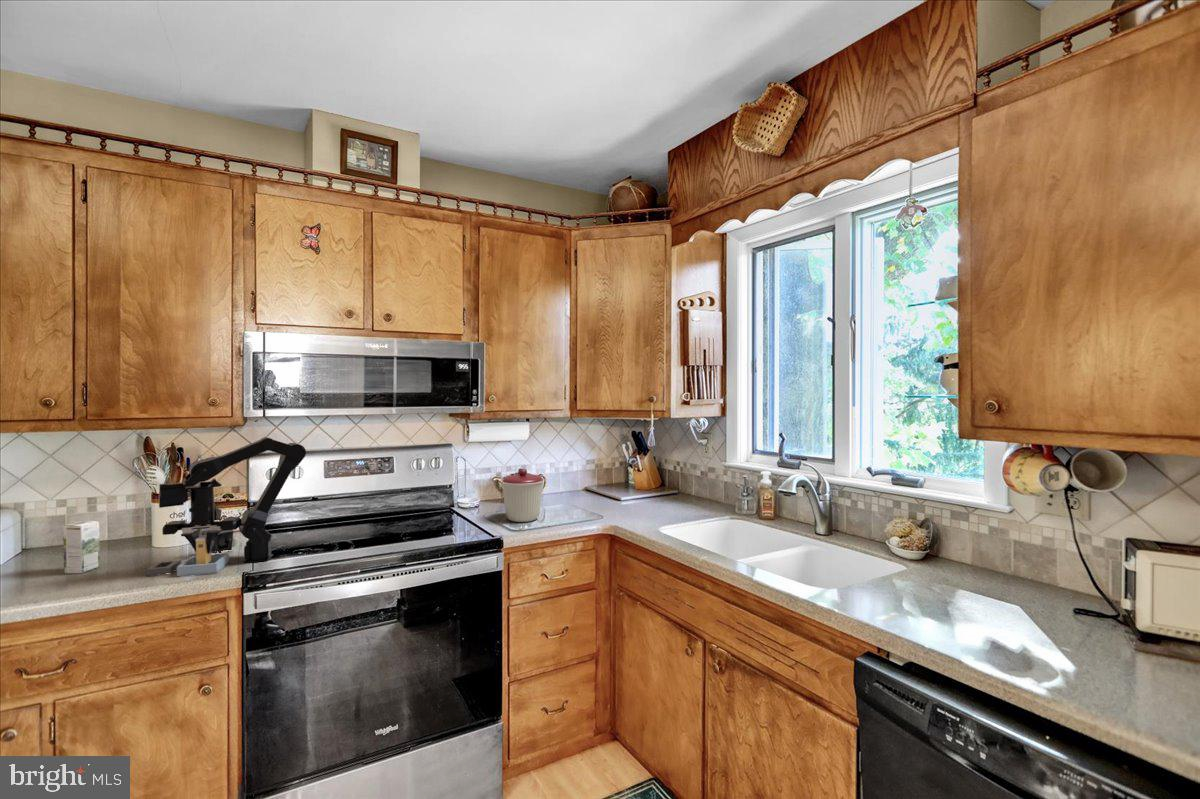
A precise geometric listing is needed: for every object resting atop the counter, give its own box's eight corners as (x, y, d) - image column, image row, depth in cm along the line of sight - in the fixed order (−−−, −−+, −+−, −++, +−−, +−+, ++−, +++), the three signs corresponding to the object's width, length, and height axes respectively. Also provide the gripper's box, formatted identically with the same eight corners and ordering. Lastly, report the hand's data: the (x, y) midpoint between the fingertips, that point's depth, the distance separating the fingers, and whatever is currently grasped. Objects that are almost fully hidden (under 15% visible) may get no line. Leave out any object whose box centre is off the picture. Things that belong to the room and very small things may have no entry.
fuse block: (181, 566, 168) (180, 560, 168) (170, 574, 161) (170, 567, 161) (157, 568, 166) (157, 561, 166) (146, 576, 159) (146, 569, 159)
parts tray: (229, 562, 171) (228, 553, 171) (216, 573, 161) (216, 563, 161) (191, 565, 168) (191, 556, 168) (177, 577, 159) (176, 566, 158)
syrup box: (82, 567, 167) (80, 520, 167) (100, 567, 167) (99, 520, 167) (63, 573, 161) (61, 525, 161) (82, 573, 161) (81, 525, 161)
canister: (492, 518, 226) (492, 468, 225) (528, 511, 238) (528, 464, 237) (516, 527, 212) (516, 474, 212) (553, 519, 224) (553, 468, 224)
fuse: (211, 560, 167) (210, 534, 167) (206, 564, 163) (205, 538, 163) (201, 561, 166) (201, 535, 166) (196, 565, 162) (195, 539, 162)
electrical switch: (230, 548, 186) (230, 522, 185) (236, 553, 182) (236, 526, 182) (197, 555, 178) (197, 528, 177) (202, 560, 175) (202, 532, 174)
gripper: (246, 495, 175) (247, 543, 175) (178, 499, 169) (179, 548, 170) (234, 502, 164) (235, 553, 164) (160, 507, 158) (162, 559, 159)
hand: (203, 553), depth 165 cm, fingers closed on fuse, 2 cm apart
